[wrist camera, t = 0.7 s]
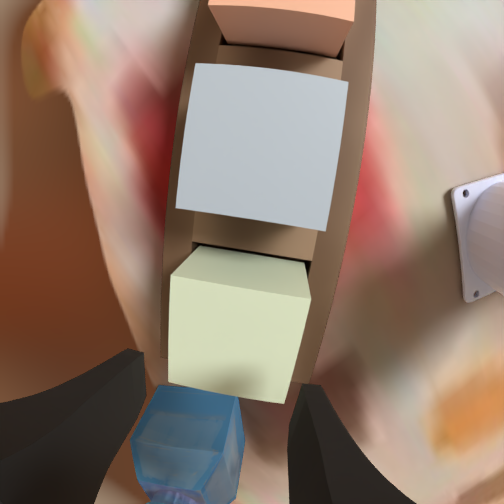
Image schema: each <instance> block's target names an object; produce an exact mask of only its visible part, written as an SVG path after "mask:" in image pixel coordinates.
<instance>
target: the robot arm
mask: <svg viewBox="0 0 504 504" xmlns="http://www.w3.org/2000/svg"><path fill="white" fill-rule="evenodd" d="M464 190H465V191H466V195H465V196H464V197H463V191H464ZM451 199H452V204H453V210H454V216H455V222H456V229H457V236H458V244H459V252H460V262H461V273H462V286H463V299H464V300H465V301H466V302H467V303H471V302H473V301H476V300H478V299H480V298H482V297H485V296H487V295H489V294H491V293H493V292H495V291H497V292H499V293H500V294H501V295H503V296H504V173H500V174H497V175H494V176H490V177H487V178H484V179H481V180H477V181H474V182H471V183H467V184H464V185H461V186H457V187H455V188H453V190H452V192H451ZM475 291H477V292H476V294H475V295H474V293H475ZM145 398H146V385H145V367H144V353H143V352H139V351H135V350H132V349H126V350H124V351H122V352H121V353H119V354H117V355H116V356H114V357H112V358H110V359H108V360H107V361H105V362H104V363H102V364H100V365H98V366H96V367H94V368H93V369H91V370H89V371H87V372H86V373H84V374H82V375H80V376H78V377H75V378H73V379H71V380H69V381H67V382H65V383H63V384H61V385H59V386H56V387H54V388H52V389H49V390H46V391H44V392H41V393H38V394H35V395H32V396H28V397H25V398H21V399H16V400H12V401H8V402H3V403H0V504H94V502H95V500H96V497H97V494H98V492H99V489H100V487H101V484H102V482H103V479H104V477H105V474H106V472H107V470H108V468H109V466H110V464H111V462H112V461H113V459H114V457H115V455H116V454H117V452H118V450H119V449H120V447H121V445H122V443H123V442H124V440H125V438H126V437H127V434H128V433H129V431H130V430H131V428H132V426H133V425H134V423H135V421H136V419H137V417H138V415H139V413H140V410H141V408H142V405H143V403H144V400H145ZM287 453H288V477H289V504H416V503H415V502H413V501H412V500H411V499H409V498H408V497H407V496H406V495H404V494H403V493H402V492H401V491H400V490H398V489H397V488H396V487H395V486H394V485H393V484H392V483H390V482H389V481H388V480H387V479H386V478H385V477H384V476H383V475H382V474H381V473H380V472H379V471H378V470H377V469H376V468H375V466H374V465H373V464H372V463H371V462H370V461H369V460H368V458H367V457H366V456H365V455H364V453H363V452H362V451H361V449H360V448H359V447H358V445H357V444H356V443H355V441H354V440H353V438H352V437H351V436H350V434H349V433H348V431H347V429H346V428H345V426H344V425H343V423H342V422H341V420H340V418H339V417H338V415H337V413H336V412H335V410H334V408H333V406H332V405H331V403H330V401H329V399H328V397H327V395H326V394H325V392H324V390H323V388H322V387H321V385H313V384H304V383H302V386H301V390H300V393H299V396H298V399H297V402H296V406H295V409H294V412H293V415H292V418H291V421H290V424H289V435H288V447H287Z"/></svg>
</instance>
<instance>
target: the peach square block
mask: <svg viewBox="0 0 504 504" xmlns="http://www.w3.org/2000/svg"><path fill="white" fill-rule="evenodd" d="M208 6H209V8H210V10H211V12H212V14H213V16H214V18H215V20H216V22H217V24H218V26H219V27H220V29H221V31H222V33H223V35H224V37H225V39H226V41H227V43H228V44H239V45H252V46H263V47H272V48H281V49H288V50H295V51H302V52H308V53H314V54H319V55H325V56H330V57H335V58H336V56H337V54H338V52H339V50H340V48H341V46H342V44H343V42H344V40H345V38H346V36H347V34H348V32H349V30H350V28H351V27H352V25H353V23H354V13H355V0H209V2H208Z"/></svg>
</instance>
